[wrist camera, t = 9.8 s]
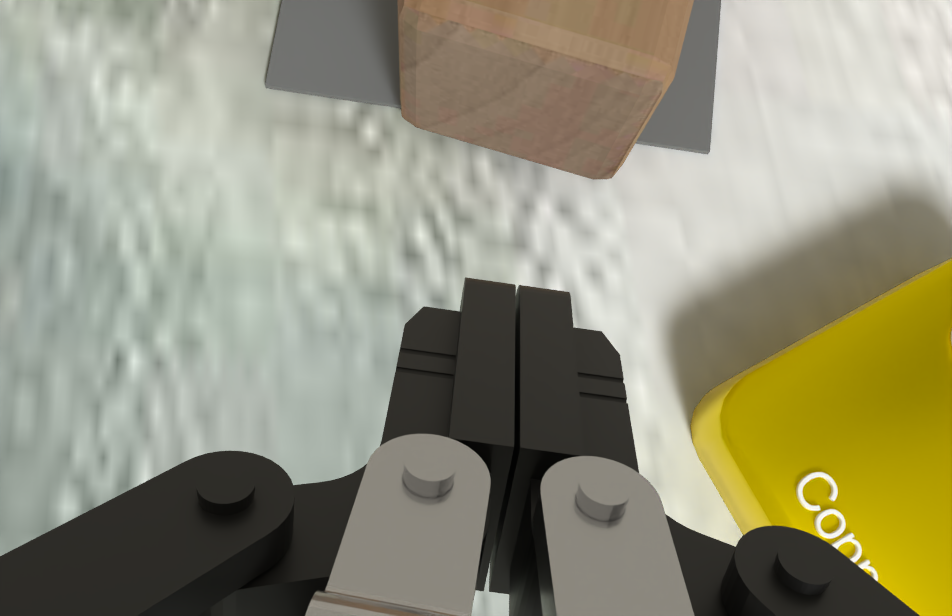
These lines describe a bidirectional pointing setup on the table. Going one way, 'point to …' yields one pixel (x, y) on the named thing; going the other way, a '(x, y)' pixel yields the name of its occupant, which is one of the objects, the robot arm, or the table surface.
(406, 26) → the wooden block
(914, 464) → the yellow labelled tile
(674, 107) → the mat
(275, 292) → the table surface
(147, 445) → the table surface
